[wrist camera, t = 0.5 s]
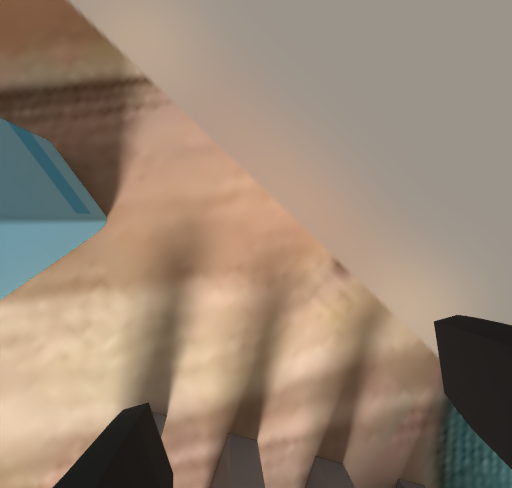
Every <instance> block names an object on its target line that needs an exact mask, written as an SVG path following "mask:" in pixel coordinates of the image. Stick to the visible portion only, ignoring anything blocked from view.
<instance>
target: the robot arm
mask: <svg viewBox="0 0 512 488" xmlns="http://www.w3.org/2000/svg"><path fill="white" fill-rule="evenodd" d="M434 326H435V332H436V339H437V346H438V352H439V359H440V365H441V372H442V379H443V385H444V392H445V394H446V396H447V397H448V398H449V400H450V401H451V402H452V404H453V405H454V406H455V408H456V409H457V410H458V412H459V413H460V414H461V415H462V417H463V418H464V419H465V420H466V422H467V423H468V424H469V425H470V427H471V428H472V429H473V430H474V431H475V432H476V433H477V434H478V435H479V436H480V437H481V438H482V439H483V440H484V442H485V443H486V444H487V445H488V446H489V447H490V448H491V449H492V450H493V451H494V452H495V453H496V454H497V455H498V456H499V457H500V458H501V459H502V460H503V461H504V462H505V463H506V464H507V465H508V466H509V467H510V468H511V469H512V325H507V324H503V323H499V322H494V321H489V320H484V319H479V318H474V317H468V316H461V315H455V316H452V317H448V318H445V319H442V320H438V321H434ZM53 488H173V472H172V469H171V466H170V463H169V460H168V457H167V454H166V451H165V448H164V446H163V443H162V440H161V437H160V434H159V431H158V428H157V425H156V422H155V420H154V417H153V414H152V411H151V408H150V405H149V403H146V404H142V405H138V406H135V407H131V408H128V409H124V410H123V411H122V412H121V413H120V414H119V415H117V417H116V418H115V419H114V420H113V421H112V422H111V423H110V424H109V425H108V426H107V427H106V429H105V430H104V431H103V432H102V433H101V434H100V435H99V436H98V438H97V439H96V440H95V441H94V442H93V443H92V444H91V446H90V447H89V448H88V449H87V450H86V451H85V452H84V454H83V455H82V456H81V457H80V458H79V459H78V460H77V461H76V463H75V464H74V465H73V466H72V467H71V468H70V469H69V471H68V472H67V473H66V474H65V475H64V476H63V477H62V478H61V479H60V480H59V482H58V483H57V484H56V485H55V486H54V487H53Z"/></svg>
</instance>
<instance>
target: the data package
mask: <svg viewBox="0 0 512 488" xmlns="http://www.w3.org/2000/svg"><path fill="white" fill-rule="evenodd" d="M106 222H107V217H106V215H105V214H104V213H103V211H102V210H101V209H100V207H99V206H98V205H97V203H96V202H95V201H94V199H93V198H92V196H91V195H90V194H89V192H88V191H87V190H86V188H85V187H84V186H83V184H82V183H81V182H80V180H79V179H78V178H77V176H76V175H75V174H74V172H73V171H72V170H71V168H70V167H69V166H68V164H67V163H66V162H65V160H64V159H63V157H62V156H61V155H60V153H59V152H58V151H57V149H56V148H55V147H54V145H53V144H52V143H51V142H50V141H48V140H46V139H44V138H42V137H40V136H38V135H36V134H34V133H31V132H29V131H27V130H25V129H23V128H21V127H19V126H16V125H14V124H12V123H10V122H8V121H6V120H4V119H1V118H0V300H1V299H2V298H4V297H5V296H7V295H8V294H10V293H11V292H13V291H14V290H15V289H17V288H18V287H20V286H21V285H23V284H24V283H26V282H27V281H28V280H30V279H31V278H33V277H34V276H36V275H37V274H39V273H40V272H41V271H43V270H44V269H46V268H47V267H49V266H50V265H52V264H53V263H55V262H56V261H57V260H59V259H60V258H62V257H63V256H65V255H66V254H68V253H69V252H70V251H72V250H73V249H75V248H76V247H78V246H79V245H81V244H82V243H83V242H85V241H86V240H88V239H89V238H91V237H92V236H93V235H95V234H96V233H97V232H98V231H100V230H101V229H102V228H103V227H104V225H105V224H106Z"/></svg>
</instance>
